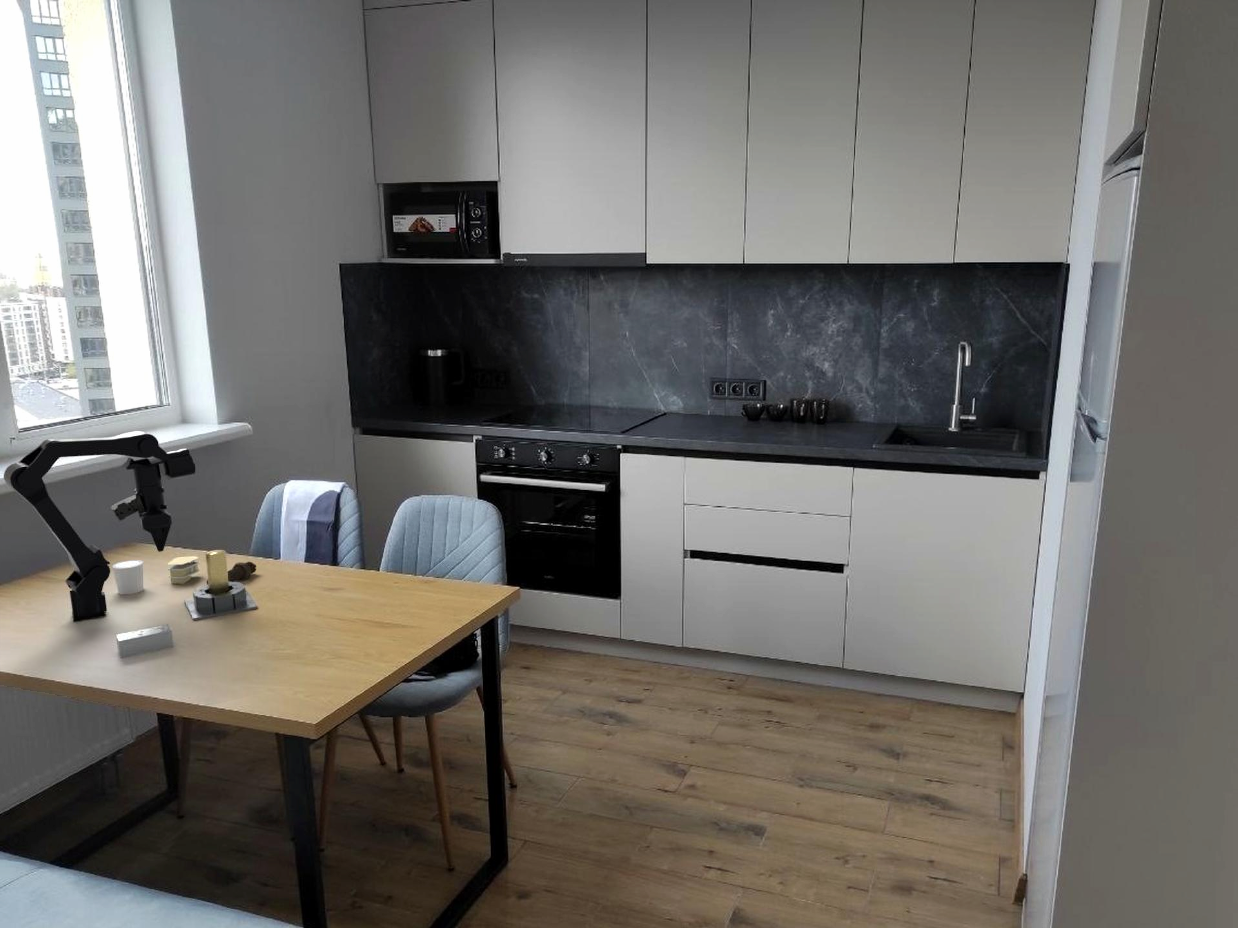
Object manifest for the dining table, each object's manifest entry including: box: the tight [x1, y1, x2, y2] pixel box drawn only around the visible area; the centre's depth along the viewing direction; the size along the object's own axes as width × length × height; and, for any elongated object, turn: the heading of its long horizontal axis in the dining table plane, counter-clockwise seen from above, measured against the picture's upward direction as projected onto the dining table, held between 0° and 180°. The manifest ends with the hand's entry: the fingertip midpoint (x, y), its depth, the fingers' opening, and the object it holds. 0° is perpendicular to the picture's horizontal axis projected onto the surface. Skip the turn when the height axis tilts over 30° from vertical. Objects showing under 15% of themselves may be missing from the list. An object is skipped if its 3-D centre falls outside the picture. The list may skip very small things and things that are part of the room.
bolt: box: [206, 561, 257, 585], centre depth 237 cm, size 6×5×15 cm
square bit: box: [115, 624, 175, 659], centre depth 196 cm, size 10×4×4 cm, turn 125°
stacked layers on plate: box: [167, 555, 201, 584], centre depth 240 cm, size 10×9×6 cm
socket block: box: [184, 581, 258, 622], centre depth 221 cm, size 14×14×4 cm
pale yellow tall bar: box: [204, 549, 229, 594], centre depth 220 cm, size 4×4×12 cm
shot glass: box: [112, 559, 144, 595], centre depth 232 cm, size 7×7×7 cm
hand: (158, 546), depth 225 cm, fingers open, 9 cm apart
